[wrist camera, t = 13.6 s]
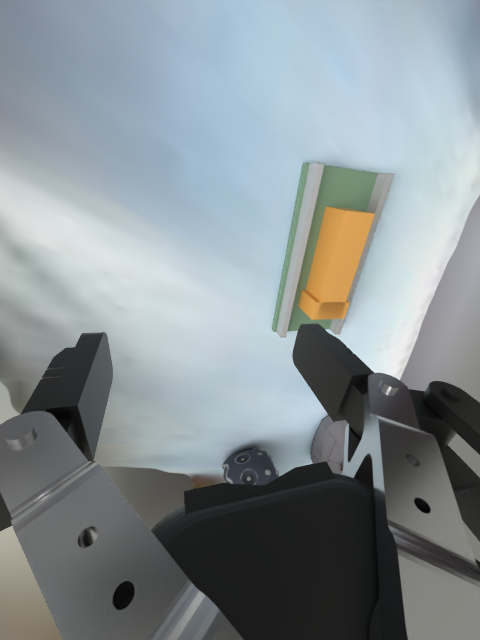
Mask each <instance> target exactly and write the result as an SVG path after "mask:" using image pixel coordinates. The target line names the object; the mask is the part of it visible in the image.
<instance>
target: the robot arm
mask: <svg viewBox="0 0 480 640" xmlns="http://www.w3.org/2000/svg"><path fill="white" fill-rule="evenodd" d="M293 362H294V364H295V366H296V368H297V369H298V371H299V372H300V373H301V375H302V376H303V378H304V379H305V381H306V382H307V384H308V385H309V387H310V388H311V390H312V391H313V393H314V394H315V396H316V397H317V398H318V400H319V401H320V403H321V404H322V406H323V407H324V409H325V410H326V412H327V413H328V415H329V416H330V418H331V419H332V421H333V422H336V421H342V420H346V421H347V423H348V424H347V426H346V429H345V444H344V463H343V473H342V474H337V473H333V472H332V470H331V469H330V467H329V465H328V463H327V461H325V462H320V463H315V464H311V465H306V466H301V467H296V468H294V469H292V470H291V471H289V472H287V473H285V474H284V475H282V476H280V477H278V478H277V479H275V480H273V481H271V482H270V483H268V484H266V485H247V484H231V483H221V484H216V485H212V486H207V487H202V488H197V489H193V490H188V491H184V505H182V506H180V507H178V508H177V509H175V510H173V511H172V512H171V513H169V514H168V515H166V516H165V517H164V518H163V519H162V520H161V521H160V522H158V523H157V524H156V525H155V526H154V528H153V529H152V530H150V529H149V528H148V526H147V525H146V524H145V523H144V521H143V520H142V519H141V517H140V516H139V515H138V514H137V512H136V511H135V510H134V509H133V508H132V506H131V505H130V503H129V502H128V501H127V500H126V498H125V497H124V496H123V495H122V493H121V492H120V491H119V489H118V488H117V487H116V486H115V484H114V483H113V482H112V481H111V479H110V478H109V477H108V475H107V474H106V473H105V472H104V470H103V469H102V468H101V467H100V465H99V464H98V463H96V462H95V461H93V460H94V456H95V451H96V447H97V443H98V439H99V434H100V430H101V426H102V422H103V417H104V413H105V409H106V405H107V401H108V396H109V392H110V388H111V384H112V377H113V368H112V361H111V355H110V349H109V344H108V338H107V334H106V333H105V332H102V333H83V334H81V336H80V338H79V340H78V342H77V344H76V346H75V347H74V348H65V349H64V350H62V351H61V352H60V353H59V354H57V355H56V356H55V357H54V358H53V359H52V361H51V363H50V364H49V366H48V368H47V370H46V371H45V373H44V375H43V377H42V380H40V382H39V383H38V385H37V387H36V389H35V390H34V392H33V394H32V396H31V397H30V399H29V401H28V403H27V404H26V406H25V408H24V409H23V411H22V413H21V415H18V416H15V417H13V418H11V419H9V420H7V421H6V422H4V423H2V424H1V425H0V531H2V530H4V529H6V528H8V527H10V526H13V528H14V531H15V533H16V536H17V538H18V540H19V542H20V545H21V547H22V549H23V551H24V553H25V556H26V558H27V560H28V563H29V565H30V567H31V569H32V571H33V574H34V576H35V578H36V581H37V583H38V585H39V587H40V590H41V592H42V594H43V597H44V599H45V601H46V603H47V606H48V608H49V610H50V612H51V615H52V617H53V619H54V621H55V624H56V626H57V628H58V630H59V633H60V635H61V637H62V639H63V640H480V562H479V561H478V560H476V559H475V558H474V555H473V552H472V549H471V546H470V543H469V540H468V537H467V533H466V530H465V527H464V524H463V521H464V522H465V524H466V525H467V526H468V528H469V529H470V530H471V531H472V533H473V534H474V535H475V536H476V537H477V539H478V540H479V541H480V478H479V477H478V476H477V475H476V474H475V473H474V472H473V470H472V469H471V468H470V467H468V465H467V464H466V463H465V462H464V461H463V460H462V459H461V458H460V457H459V456H458V455H457V454H456V453H455V452H454V451H453V450H452V449H451V448H450V447H449V446H448V444H449V442H450V441H451V440H452V438H453V437H454V436H455V434H456V433H457V434H458V435H459V436H461V437H462V438H463V439H464V440H465V441H466V442H467V443H468V444H469V445H470V446H471V447H472V448H473V449H474V450H475V451H477V453H478V454H480V403H479V402H478V401H476V400H475V399H474V398H473V397H471V396H470V395H469V394H467V393H466V392H465V391H463V390H462V389H460V388H458V387H456V386H454V385H451V384H448V383H445V382H441V381H434V382H431V383H430V384H429V386H428V387H427V389H426V391H425V392H424V391H417V390H410V389H408V387H407V386H406V385H405V384H404V383H402V382H401V381H400V380H398V379H396V378H395V377H392V376H390V375H387V374H383V373H374V372H373V371H372V370H371V369H370V368H369V367H368V366H366V365H365V364H364V363H363V362H362V361H361V360H360V359H359V358H358V357H357V356H356V355H355V354H353V352H352V351H351V350H350V349H349V348H347V347H346V345H345V344H344V343H342V342H341V341H340V340H339V339H338V338H336V337H334V336H333V335H331V334H329V333H328V332H327V331H326V330H325V329H324V328H323V327H322V326H321V325H319V324H318V323H313V324H301V325H300V326H299V329H298V333H297V337H296V341H295V345H294V349H293ZM89 461H93V462H91V463H90V462H89ZM462 520H463V521H462Z"/></svg>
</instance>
